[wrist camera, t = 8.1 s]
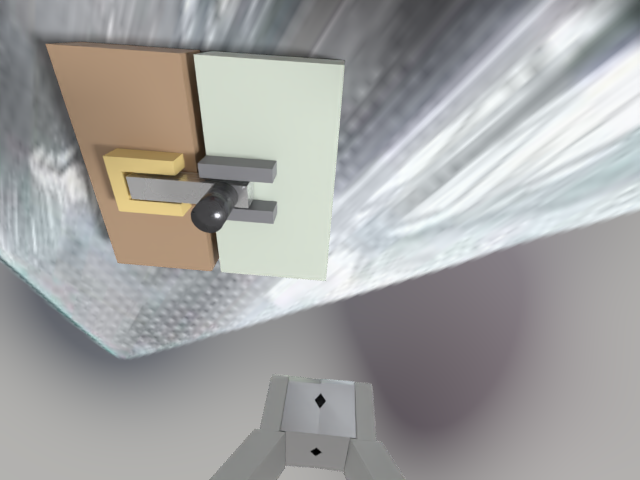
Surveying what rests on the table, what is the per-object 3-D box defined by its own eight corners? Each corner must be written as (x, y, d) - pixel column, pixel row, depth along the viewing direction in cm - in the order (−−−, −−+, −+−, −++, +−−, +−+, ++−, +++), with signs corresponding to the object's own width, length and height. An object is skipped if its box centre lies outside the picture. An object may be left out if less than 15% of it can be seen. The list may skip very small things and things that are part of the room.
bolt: (252, 174, 29) (232, 206, 24) (254, 200, 30) (235, 235, 25) (138, 165, 29) (94, 195, 24) (144, 191, 30) (103, 224, 25)
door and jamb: (344, 60, 28) (344, 68, 22) (327, 258, 38) (324, 293, 33) (81, 41, 28) (23, 45, 23) (137, 242, 39) (106, 274, 34)
